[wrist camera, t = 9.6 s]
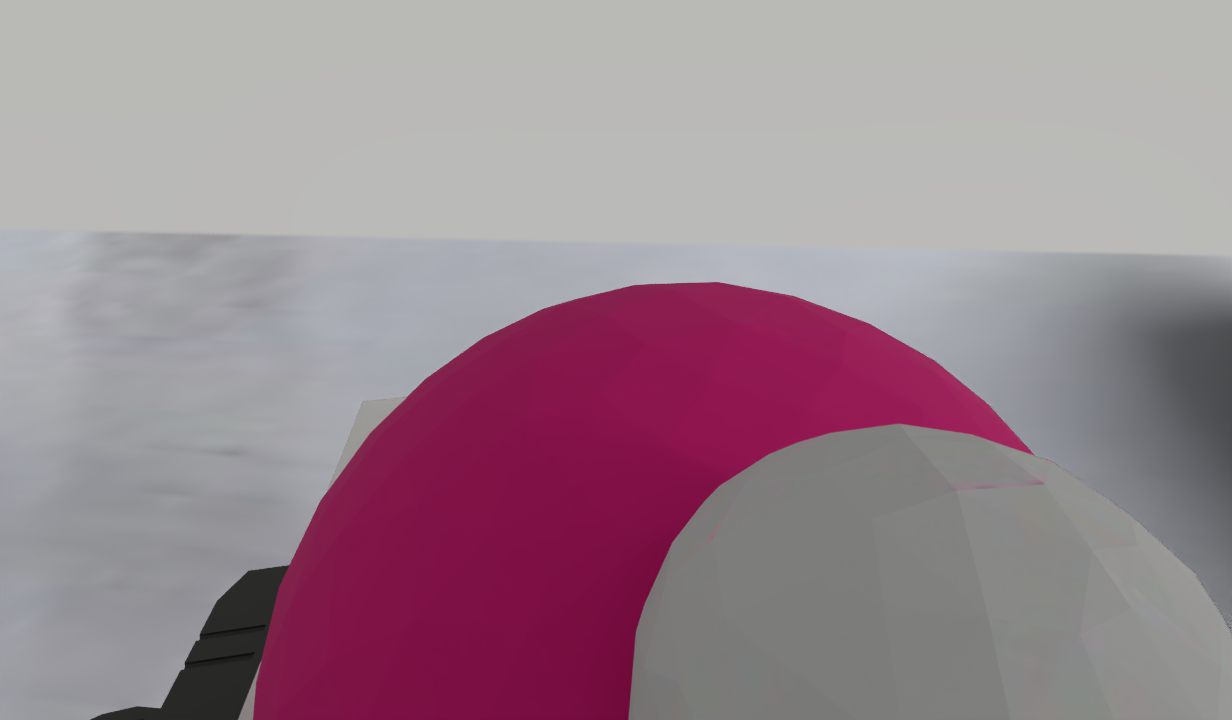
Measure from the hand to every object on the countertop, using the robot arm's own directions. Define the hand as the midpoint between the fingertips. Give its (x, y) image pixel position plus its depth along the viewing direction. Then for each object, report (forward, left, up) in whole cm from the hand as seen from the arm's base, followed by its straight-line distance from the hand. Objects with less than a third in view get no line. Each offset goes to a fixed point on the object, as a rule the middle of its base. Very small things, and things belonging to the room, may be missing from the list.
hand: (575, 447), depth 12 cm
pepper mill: (+1, +3, -10) cm, 10 cm away
